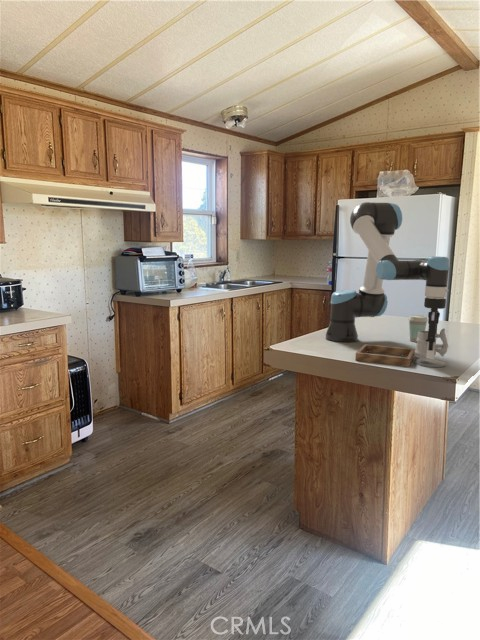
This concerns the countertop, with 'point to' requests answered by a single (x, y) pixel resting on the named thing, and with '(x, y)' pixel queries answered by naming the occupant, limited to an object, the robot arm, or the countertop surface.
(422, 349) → the mug
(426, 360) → the grey flat disc
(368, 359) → the walnut tray
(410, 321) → the coffee cup
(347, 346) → the countertop surface
